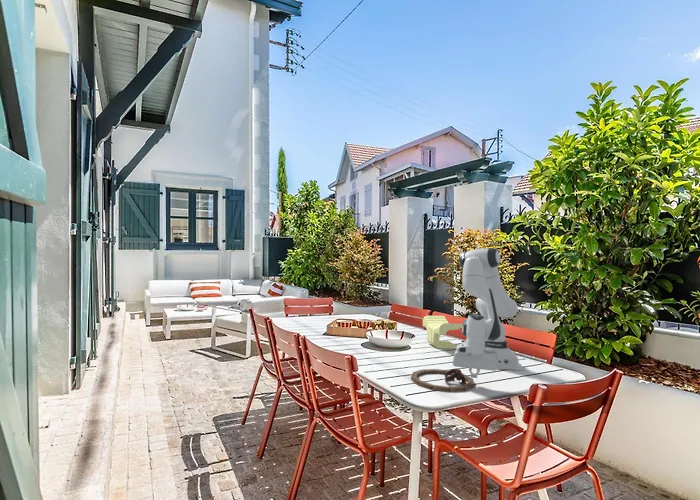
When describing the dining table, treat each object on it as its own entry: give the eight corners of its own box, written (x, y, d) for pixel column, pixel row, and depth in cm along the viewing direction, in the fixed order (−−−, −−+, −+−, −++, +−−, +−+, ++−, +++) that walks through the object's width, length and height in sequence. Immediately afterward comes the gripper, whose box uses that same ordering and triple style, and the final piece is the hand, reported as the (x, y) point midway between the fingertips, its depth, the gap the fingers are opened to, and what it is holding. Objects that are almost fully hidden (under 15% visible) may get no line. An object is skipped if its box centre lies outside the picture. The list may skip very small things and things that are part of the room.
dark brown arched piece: (466, 390, 193) (458, 374, 193) (448, 395, 198) (440, 380, 197) (470, 376, 204) (462, 362, 204) (452, 381, 208) (445, 367, 208)
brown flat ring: (472, 376, 214) (472, 372, 214) (474, 394, 185) (474, 391, 185) (414, 369, 221) (415, 366, 221) (408, 386, 193) (408, 383, 193)
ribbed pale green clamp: (422, 340, 294) (423, 315, 294) (443, 340, 297) (444, 315, 297) (438, 351, 264) (439, 323, 264) (461, 351, 267) (462, 323, 267)
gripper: (497, 349, 200) (496, 378, 200) (453, 345, 205) (452, 373, 205) (498, 352, 193) (497, 382, 194) (453, 348, 199) (452, 376, 199)
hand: (473, 377), depth 199 cm, fingers closed
